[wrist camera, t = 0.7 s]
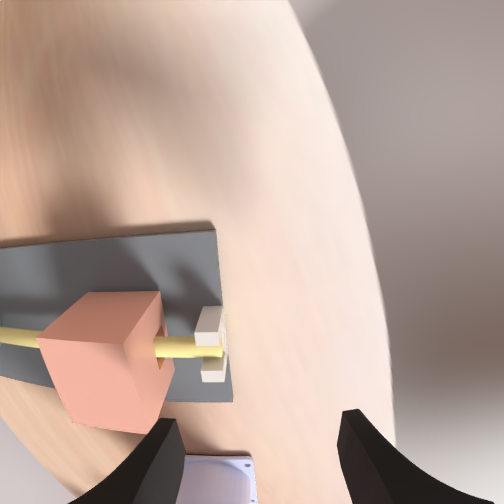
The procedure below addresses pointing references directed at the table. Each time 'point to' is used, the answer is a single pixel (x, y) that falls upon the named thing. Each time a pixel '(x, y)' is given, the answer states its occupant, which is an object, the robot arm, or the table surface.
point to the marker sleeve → (110, 360)
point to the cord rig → (121, 280)
